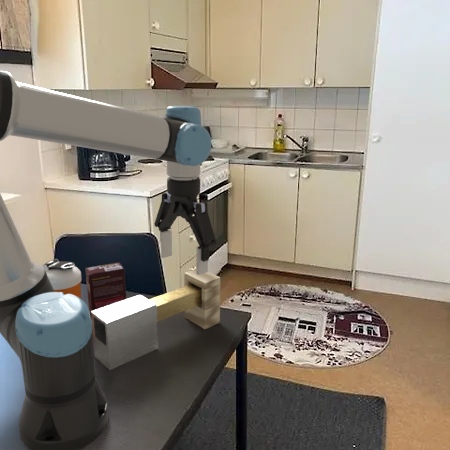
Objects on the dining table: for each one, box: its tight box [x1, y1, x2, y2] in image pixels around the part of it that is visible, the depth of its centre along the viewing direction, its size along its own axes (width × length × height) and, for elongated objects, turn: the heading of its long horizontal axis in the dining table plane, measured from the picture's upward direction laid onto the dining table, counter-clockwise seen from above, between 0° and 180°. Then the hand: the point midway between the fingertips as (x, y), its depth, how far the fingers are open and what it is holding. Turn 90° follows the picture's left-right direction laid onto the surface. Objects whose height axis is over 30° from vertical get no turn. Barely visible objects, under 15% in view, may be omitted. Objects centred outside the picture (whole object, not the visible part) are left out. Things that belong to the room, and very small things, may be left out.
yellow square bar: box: [148, 284, 202, 323], centre depth 111 cm, size 20×4×4 cm, turn 133°
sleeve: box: [91, 294, 159, 371], centre depth 104 cm, size 12×7×11 cm, turn 133°
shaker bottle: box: [41, 258, 82, 299], centre depth 106 cm, size 9×9×20 cm
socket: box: [183, 268, 221, 330], centre depth 118 cm, size 5×8×13 cm, turn 43°
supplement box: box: [85, 261, 127, 330], centre depth 114 cm, size 9×5×16 cm, turn 117°
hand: (183, 264), depth 111 cm, fingers open, 13 cm apart
